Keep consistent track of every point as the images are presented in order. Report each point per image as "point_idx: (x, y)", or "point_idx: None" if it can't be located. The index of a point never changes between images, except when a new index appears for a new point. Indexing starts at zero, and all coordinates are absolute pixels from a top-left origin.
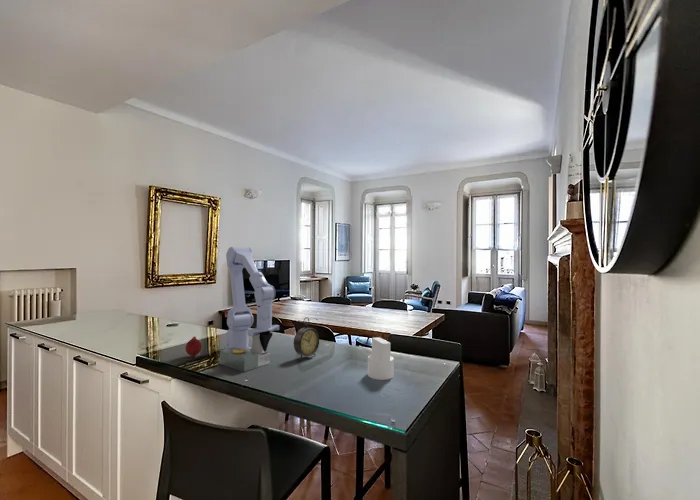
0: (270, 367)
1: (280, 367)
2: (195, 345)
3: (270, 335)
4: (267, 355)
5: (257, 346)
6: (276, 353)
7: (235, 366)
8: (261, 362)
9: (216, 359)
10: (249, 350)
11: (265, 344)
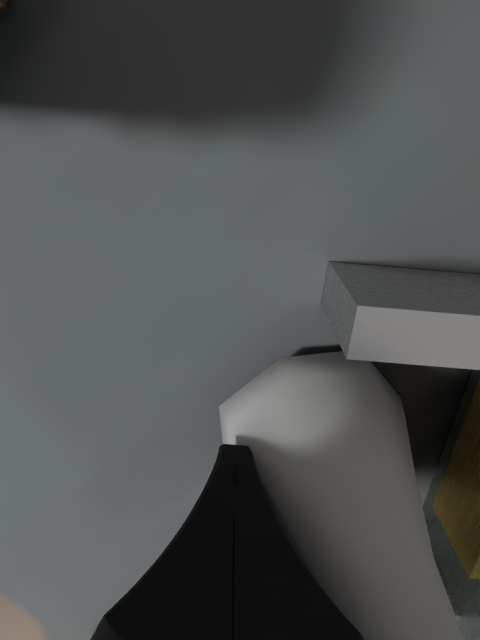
0: (447, 145)
1: (394, 26)
2: None
3: (169, 625)
4: (393, 297)
5: (410, 519)
6: (29, 427)
7: None
8: (461, 283)
9: None
10: None
11: (255, 507)
